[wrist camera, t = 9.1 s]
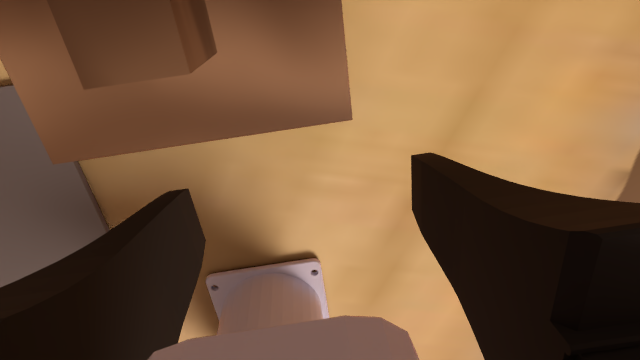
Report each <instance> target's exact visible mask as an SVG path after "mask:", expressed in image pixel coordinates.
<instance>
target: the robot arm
mask: <svg viewBox="0 0 640 360" xmlns="http://www.w3.org/2000/svg"><path fill="white" fill-rule="evenodd" d="M411 174H412V211H413V213H414V216H415V219H416V221H417V224H418V226H419V229H420V231H421V233H422V235H423V237H424V239H425V241H426V242H427V244H428V246H429V247H430V249H431V251H432V253H433V254H434V256H435V258H436V259H437V261H438V263H439V265H440V266H441V268H442V270H443V271H444V273H445V275H446V276H447V278H448V280H449V282H450V283H451V285H452V287H453V289H454V291H455V292H456V294H457V296H458V298H459V301H460V303H461V305H462V307H463V310H464V312H465V314H466V316H467V319H468V321H469V323H470V325H471V328H472V330H473V333H474V335H475V337H476V340H477V342H478V345H479V347H480V349H481V352H482V354H483V357H484V359H485V360H640V203H631V202H619V201H610V200H600V199H592V198H585V197H578V196H572V195H566V194H561V193H555V192H550V191H545V190H540V189H536V188H532V187H528V186H524V185H520V184H517V183H513V182H510V181H507V180H504V179H501V178H498V177H495V176H492V175H489V174H486V173H483V172H480V171H478V170H475V169H473V168H470V167H468V166H465V165H463V164H460V163H458V162H455V161H453V160H450V159H448V158H445V157H443V156H440V155H437V154H434V153H424V154H417V155H411ZM205 241H206V240H205V237H204V234H203V231H202V228H201V225H200V222H199V219H198V216H197V213H196V210H195V207H194V204H193V201H192V198H191V195H190V192H189V189H182V190H175V191H169V192H167V193H165V194H163V195H161V196H160V197H158V198H157V199H155V200H154V201H152V202H151V203H149V204H148V205H146V206H145V207H143V208H142V209H141V210H139V211H138V212H136V213H135V214H133V215H132V216H131V217H129V218H128V219H126V220H125V221H123V222H122V223H120V224H119V225H117V226H116V227H114V228H113V229H111V230H110V231H108V232H107V233H105V234H104V235H102V236H101V237H99V238H97V239H96V240H94V241H93V242H91V243H89V244H88V245H86V246H84V247H83V248H81V249H79V250H77V251H76V252H74V253H72V254H70V255H68V256H66V257H64V258H63V259H61V260H59V261H57V262H55V263H53V264H51V265H49V266H47V267H44V268H42V269H40V270H38V271H36V272H34V273H32V274H30V275H27V276H25V277H23V278H21V279H19V280H17V281H14V282H12V283H10V284H7V285H5V286H3V287H0V360H419V358H418V355H417V353H416V350H415V348H414V346H413V343H412V341H411V339H410V336H409V334H408V332H407V331H405V330H403V329H401V328H399V327H398V326H396V325H394V324H392V323H390V322H388V321H386V320H385V319H383V318H380V317H366V316H339V317H332V318H329V313H328V306H327V300H326V294H325V288H324V282H323V276H322V270H321V264H320V261H319V260H318V259H316V258H311V259H304V260H298V261H291V262H285V263H278V264H271V265H265V266H258V267H252V268H245V269H239V270H232V271H226V272H219V273H213V274H209V275H208V276H207V278H206V285H207V288H208V291H209V294H210V297H211V299H212V302H213V305H214V308H215V311H216V314H217V317H218V319H219V326H218V331H217V335H213V336H206V337H200V338H193V339H188V340H185V341H183V342H180V343H178V340H179V336H180V333H181V329H182V326H183V322H184V319H185V316H186V313H187V310H188V307H189V304H190V301H191V298H192V295H193V292H194V289H195V286H196V283H197V280H198V276H199V273H200V270H201V267H202V261H203V255H204V248H205ZM312 270H317V271H316V272H312ZM213 285H216V286H218V287H214V286H213Z"/></svg>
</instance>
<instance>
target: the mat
mask: <svg viewBox="0 0 640 360" xmlns="http://www.w3.org/2000/svg"><path fill="white" fill-rule="evenodd" d="M108 231H110V230H109V228H108V226H107V224H106V221H105V219H104V217H103V215H102V213H101V211H100V208H99V206H98V204H97V202H96V200H95V198H94V195H93V193H92V191H91V189H90V187H89V185H88V182H87V180H86V178H85V176H84V174H83V172H82V169H81V167H80V165H79V163H78V161H74V162H67V163H60V164H54V165H53V163H52V161H51V159H50V157H49V155H48V153H47V151H46V149H45V147H44V145H43V143H42V141H41V139H40V137H39V135H38V133H37V131H36V129H35V127H34V125H33V123H32V121H31V119H30V117H29V115H28V113H27V111H26V109H25V107H24V105H23V103H22V101H21V99H20V97H19V95H18V93H17V91H16V89H15V87H14V85H7V86H0V287H3V286H5V285H7V284H10V283H12V282H14V281H17V280H19V279H21V278H23V277H25V276H27V275H30V274H32V273H34V272H36V271H38V270H40V269H42V268H44V267H47V266H49V265H51V264H53V263H55V262H57V261H59V260H61V259H63V258H64V257H66V256H68V255H70V254H72V253H74V252H76V251H77V250H79V249H81V248H83V247H84V246H86V245H88V244H89V243H91V242H93V241H94V240H96V239H97V238H99V237H101V236H102V235H104V234H105V233H107V232H108Z"/></svg>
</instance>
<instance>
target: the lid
mask: <svg viewBox="0 0 640 360" xmlns="http://www.w3.org/2000/svg"><path fill="white" fill-rule="evenodd" d="M0 59H1V61H2V63H3V65H4V67H5V69H6V71H7V73H8V75H9V77H10V79H11V81H12V83H13V85H14V87H15V89H16V91H17V93H18V95H19V97H20V99H21V101H22V103H23V105H24V107H25V109H26V111H27V113H28V115H29V117H30V119H31V121H32V123H33V125H34V127H35V129H36V131H37V133H38V135H39V137H40V139H41V141H42V143H43V145H44V147H45V149H46V151H47V153H48V155H49V157H50V159H51V161H52V163H53V165H54V164H60V163H67V162H74V161H80V160H87V159H94V158H100V157H107V156H114V155H120V154H127V153H134V152H141V151H147V150H154V149H161V148H167V147H174V146H181V145H187V144H194V143H201V142H207V141H214V140H221V139H228V138H234V137H241V136H248V135H254V134H261V133H268V132H274V131H281V130H288V129H294V128H301V127H308V126H315V125H321V124H328V123H335V122H341V121H348V120H352V109H351V98H350V88H349V77H348V66H347V56H346V45H345V34H344V24H343V13H342V2H341V0H0Z"/></svg>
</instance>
